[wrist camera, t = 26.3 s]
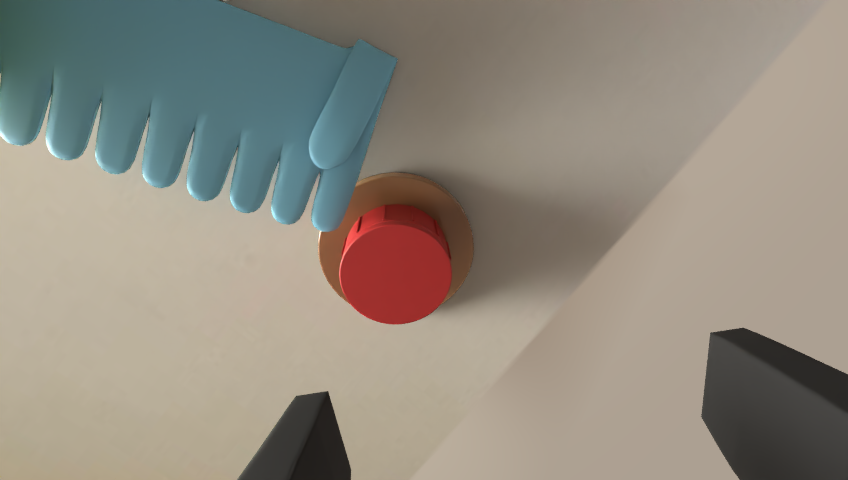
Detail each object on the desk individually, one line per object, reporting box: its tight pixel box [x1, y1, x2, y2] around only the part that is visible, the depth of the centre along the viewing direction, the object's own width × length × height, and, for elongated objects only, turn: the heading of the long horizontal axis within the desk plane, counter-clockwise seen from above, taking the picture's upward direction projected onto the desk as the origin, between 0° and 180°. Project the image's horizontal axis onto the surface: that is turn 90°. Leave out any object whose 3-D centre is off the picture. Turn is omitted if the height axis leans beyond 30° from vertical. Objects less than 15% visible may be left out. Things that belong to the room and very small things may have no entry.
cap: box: [339, 204, 452, 324], centre depth 18 cm, size 4×4×2 cm
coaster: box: [318, 173, 474, 306], centre depth 19 cm, size 6×6×1 cm
